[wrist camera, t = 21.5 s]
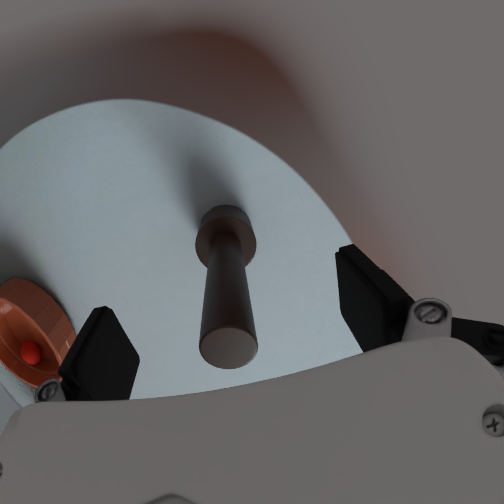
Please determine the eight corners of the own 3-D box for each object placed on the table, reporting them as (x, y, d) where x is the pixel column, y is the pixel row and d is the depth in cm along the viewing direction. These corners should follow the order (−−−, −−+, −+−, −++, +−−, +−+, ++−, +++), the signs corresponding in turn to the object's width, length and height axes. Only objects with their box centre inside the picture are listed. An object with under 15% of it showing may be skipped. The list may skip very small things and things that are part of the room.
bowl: (-13, 287, 23) (-34, 306, 19) (45, 264, 23) (19, 285, 19) (34, 366, 28) (20, 389, 24) (98, 361, 28) (85, 390, 24)
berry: (13, 354, 23) (26, 367, 24) (28, 356, 23) (41, 370, 25) (21, 335, 25) (33, 349, 27) (36, 337, 25) (48, 351, 27)
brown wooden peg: (194, 210, 23) (153, 310, 9) (246, 200, 23) (280, 288, 9) (206, 258, 25) (189, 392, 11) (255, 249, 25) (291, 377, 11)
